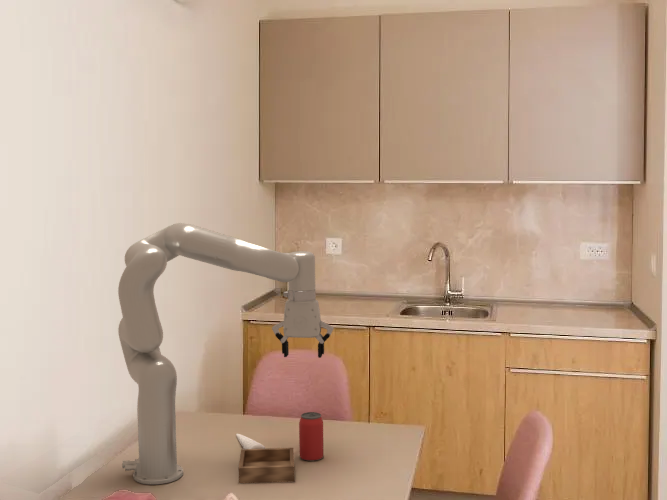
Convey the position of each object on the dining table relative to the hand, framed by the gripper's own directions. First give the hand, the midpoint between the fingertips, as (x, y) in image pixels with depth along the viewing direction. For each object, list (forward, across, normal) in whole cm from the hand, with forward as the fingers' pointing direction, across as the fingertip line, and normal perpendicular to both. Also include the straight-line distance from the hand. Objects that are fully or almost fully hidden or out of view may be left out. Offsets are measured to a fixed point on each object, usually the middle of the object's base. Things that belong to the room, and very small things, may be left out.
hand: (303, 356), depth 222 cm
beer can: (+27, +3, -7) cm, 28 cm away
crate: (+26, -7, -19) cm, 33 cm away
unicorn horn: (+27, -16, -1) cm, 32 cm away
